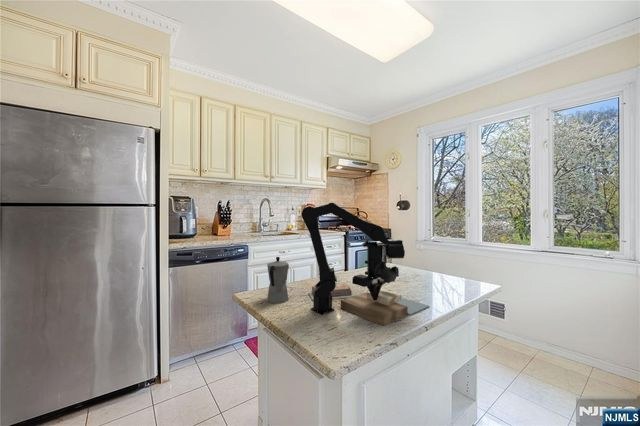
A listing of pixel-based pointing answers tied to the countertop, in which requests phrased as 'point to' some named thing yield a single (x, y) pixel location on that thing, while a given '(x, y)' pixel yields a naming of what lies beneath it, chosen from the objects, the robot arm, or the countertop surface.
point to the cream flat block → (386, 297)
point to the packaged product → (336, 292)
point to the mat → (412, 306)
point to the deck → (374, 309)
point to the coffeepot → (277, 281)
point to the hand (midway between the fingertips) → (375, 300)
